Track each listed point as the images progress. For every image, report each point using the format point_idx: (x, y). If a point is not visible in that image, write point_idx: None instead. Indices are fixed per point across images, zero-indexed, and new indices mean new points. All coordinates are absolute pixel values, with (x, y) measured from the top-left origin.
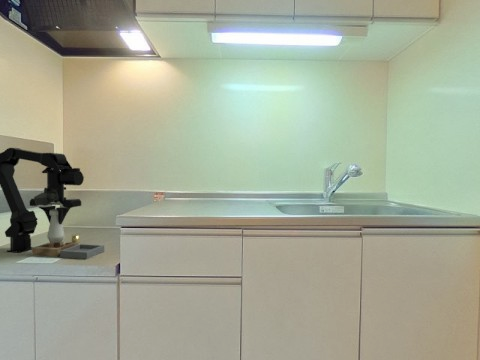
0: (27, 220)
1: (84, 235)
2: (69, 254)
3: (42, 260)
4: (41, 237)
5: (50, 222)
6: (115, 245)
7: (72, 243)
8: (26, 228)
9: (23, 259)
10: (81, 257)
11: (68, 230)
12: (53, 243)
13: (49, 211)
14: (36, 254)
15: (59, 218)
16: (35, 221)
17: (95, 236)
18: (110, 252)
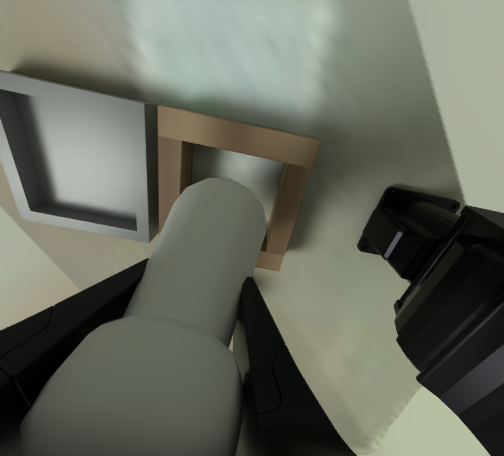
0: (500, 320)
1: None
2: (96, 91)
3: (212, 39)
4: (388, 371)
5: (223, 259)
6: (77, 285)
7: None
8: (445, 262)
9: (323, 59)
10: (33, 77)
11: (337, 423)
12: (267, 245)
13: (249, 433)
14: (289, 132)
15: (99, 292)
16: (421, 355)
17: None
18: (10, 193)
